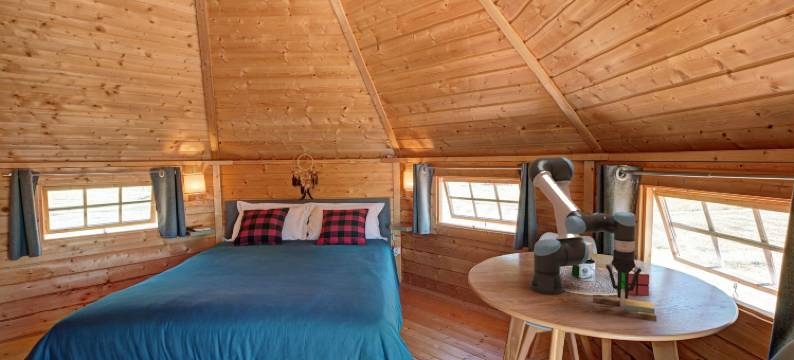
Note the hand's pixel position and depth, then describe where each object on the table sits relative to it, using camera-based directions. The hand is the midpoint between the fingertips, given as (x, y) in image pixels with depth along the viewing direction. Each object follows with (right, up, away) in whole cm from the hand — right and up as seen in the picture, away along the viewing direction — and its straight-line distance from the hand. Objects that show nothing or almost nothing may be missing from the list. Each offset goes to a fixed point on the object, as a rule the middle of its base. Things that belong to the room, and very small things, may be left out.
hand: (622, 305), depth 161 cm
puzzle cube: (+17, -1, +22) cm, 28 cm away
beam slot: (0, -2, 0) cm, 2 cm away
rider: (+5, -2, -3) cm, 6 cm away
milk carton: (+4, +1, +45) cm, 45 cm away
